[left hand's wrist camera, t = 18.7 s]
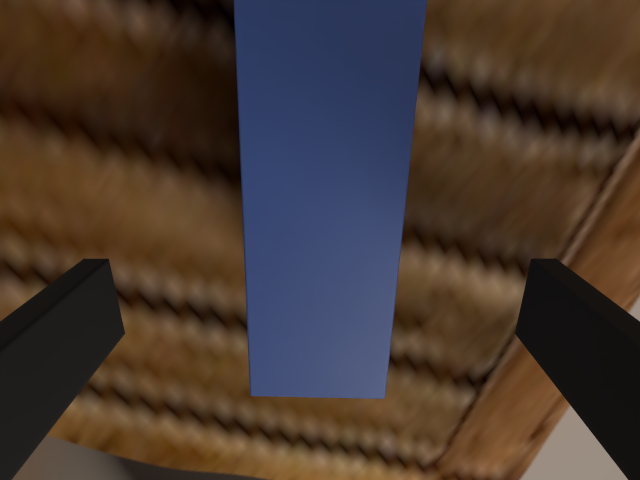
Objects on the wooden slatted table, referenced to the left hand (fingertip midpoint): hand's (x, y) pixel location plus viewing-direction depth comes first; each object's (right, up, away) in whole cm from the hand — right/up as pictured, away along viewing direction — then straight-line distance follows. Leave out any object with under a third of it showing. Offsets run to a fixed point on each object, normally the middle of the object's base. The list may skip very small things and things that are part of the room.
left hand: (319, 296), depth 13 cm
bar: (0, +12, +5) cm, 13 cm away
